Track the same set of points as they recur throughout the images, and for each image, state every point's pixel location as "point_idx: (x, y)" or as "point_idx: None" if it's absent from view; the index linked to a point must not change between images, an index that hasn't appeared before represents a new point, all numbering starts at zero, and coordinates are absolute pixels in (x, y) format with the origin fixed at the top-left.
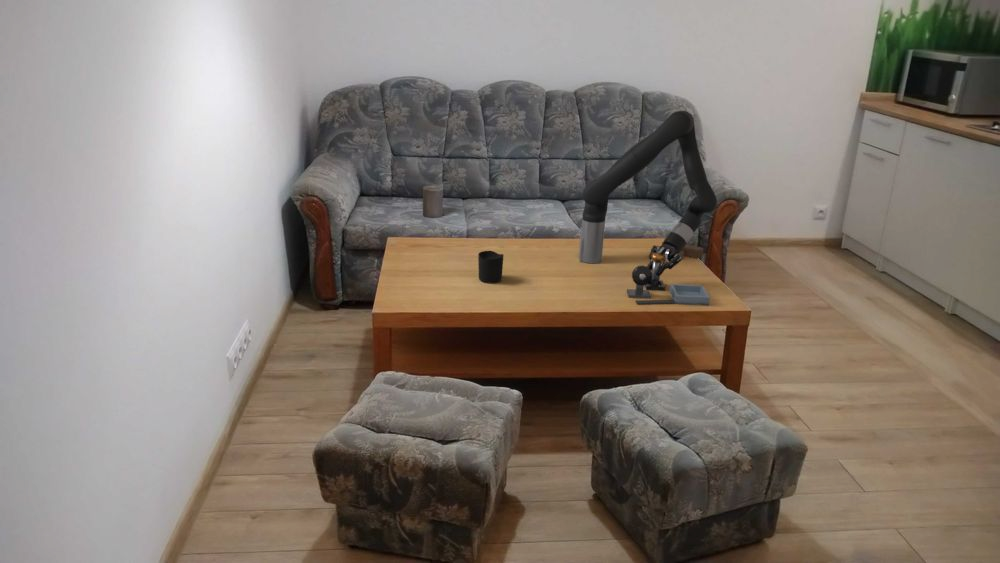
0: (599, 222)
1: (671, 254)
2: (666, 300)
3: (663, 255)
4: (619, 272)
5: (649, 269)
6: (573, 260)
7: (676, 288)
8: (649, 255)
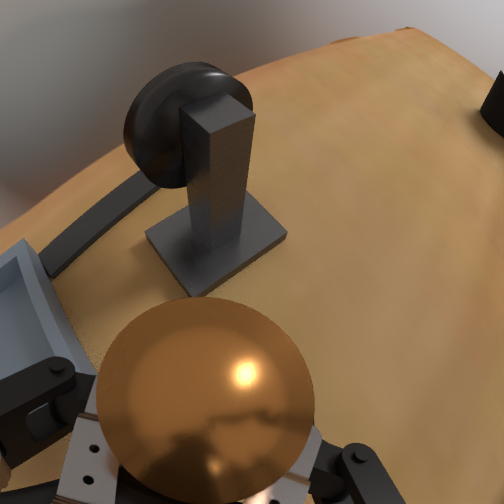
0: None
1: (23, 495)
2: (72, 246)
3: (100, 411)
4: (461, 427)
5: (141, 100)
6: None
7: None
8: (380, 470)
